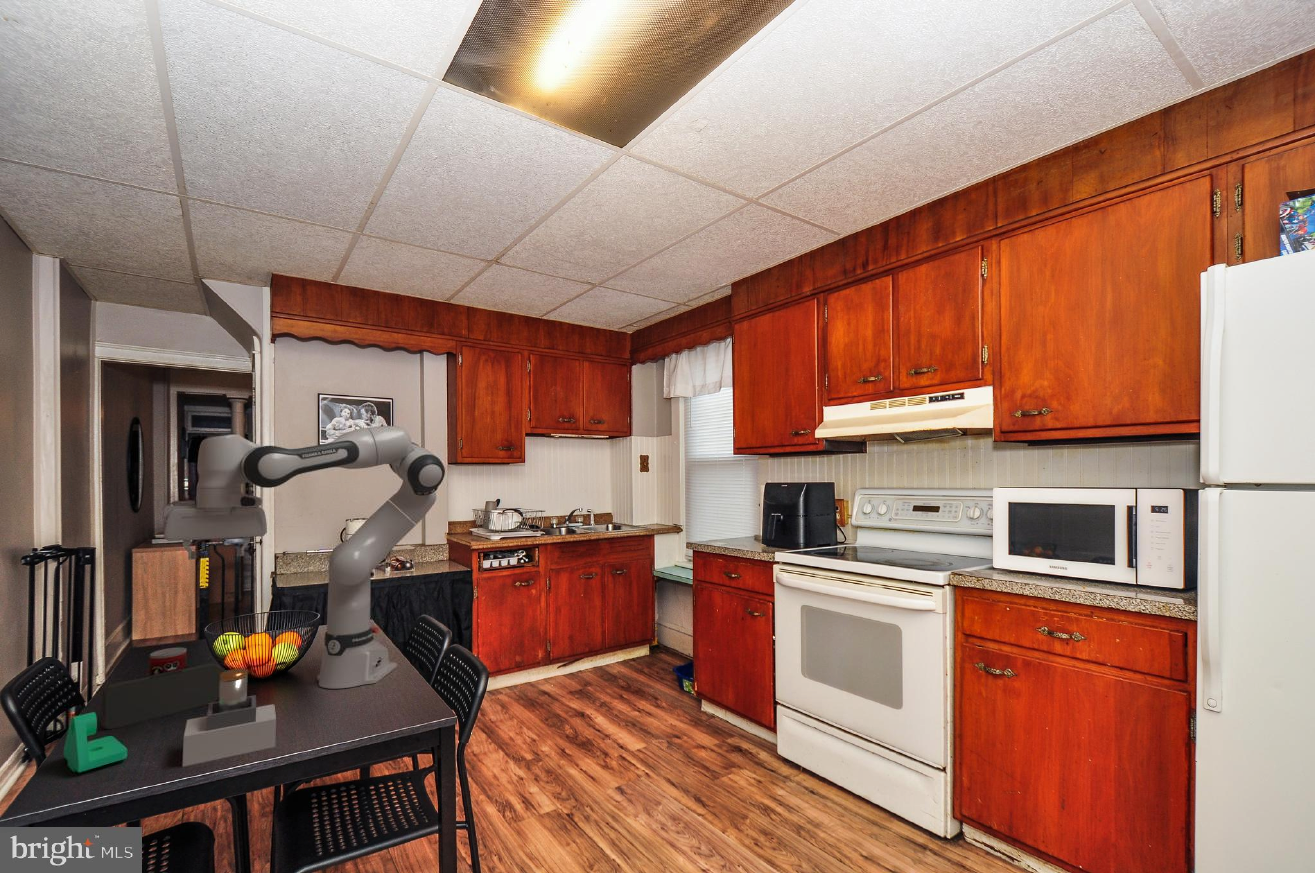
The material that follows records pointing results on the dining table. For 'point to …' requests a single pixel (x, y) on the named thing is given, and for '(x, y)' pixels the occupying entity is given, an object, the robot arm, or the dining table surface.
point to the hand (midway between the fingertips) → (216, 557)
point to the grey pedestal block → (229, 732)
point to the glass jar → (233, 690)
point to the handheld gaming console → (159, 695)
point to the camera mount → (90, 745)
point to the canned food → (167, 660)
